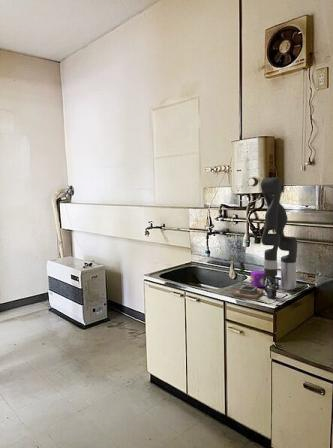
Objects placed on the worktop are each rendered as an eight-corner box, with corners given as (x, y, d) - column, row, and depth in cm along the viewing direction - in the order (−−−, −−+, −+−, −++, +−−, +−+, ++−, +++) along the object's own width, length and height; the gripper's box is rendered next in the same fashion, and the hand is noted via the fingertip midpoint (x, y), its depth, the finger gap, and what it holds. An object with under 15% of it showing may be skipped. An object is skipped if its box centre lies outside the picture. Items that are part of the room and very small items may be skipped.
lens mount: (241, 289, 221) (241, 283, 220) (263, 292, 213) (263, 286, 213) (233, 295, 209) (233, 289, 209) (255, 299, 201) (255, 292, 201)
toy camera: (258, 290, 219) (258, 274, 218) (247, 284, 232) (247, 270, 231) (273, 288, 222) (273, 273, 221) (262, 282, 235) (262, 268, 234)
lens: (268, 295, 207) (268, 284, 206) (276, 297, 204) (276, 285, 203) (265, 298, 203) (265, 286, 202) (274, 299, 200) (274, 287, 199)
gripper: (282, 269, 195) (282, 297, 197) (270, 264, 209) (270, 290, 211) (270, 270, 194) (270, 298, 195) (259, 265, 208) (259, 291, 209)
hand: (270, 294), depth 203 cm, fingers open, 8 cm apart
